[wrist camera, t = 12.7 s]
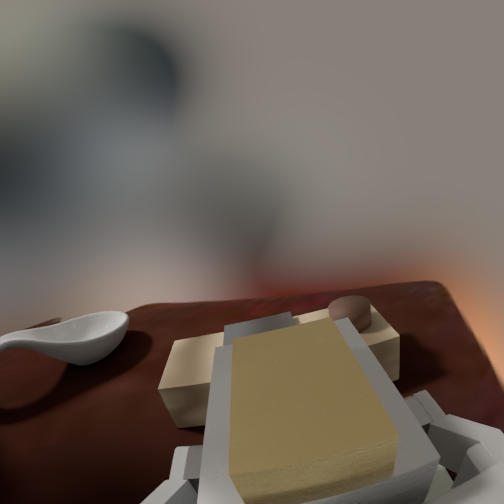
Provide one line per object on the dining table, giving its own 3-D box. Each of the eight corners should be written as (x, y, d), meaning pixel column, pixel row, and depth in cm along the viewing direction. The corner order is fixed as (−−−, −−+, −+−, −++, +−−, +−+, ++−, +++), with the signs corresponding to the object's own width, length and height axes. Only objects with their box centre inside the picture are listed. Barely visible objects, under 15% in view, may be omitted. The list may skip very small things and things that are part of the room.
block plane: (177, 427, 21) (149, 371, 19) (188, 376, 28) (168, 325, 26) (398, 379, 21) (399, 315, 19) (367, 336, 27) (363, 281, 26)
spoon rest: (111, 325, 44) (95, 282, 42) (154, 341, 37) (134, 287, 35) (-16, 396, 26) (-41, 349, 25) (-4, 437, 19) (-41, 379, 17)
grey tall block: (276, 594, 7) (172, 486, 4) (266, 488, 14) (205, 319, 11) (390, 568, 7) (451, 420, 4) (355, 468, 14) (344, 287, 11)
